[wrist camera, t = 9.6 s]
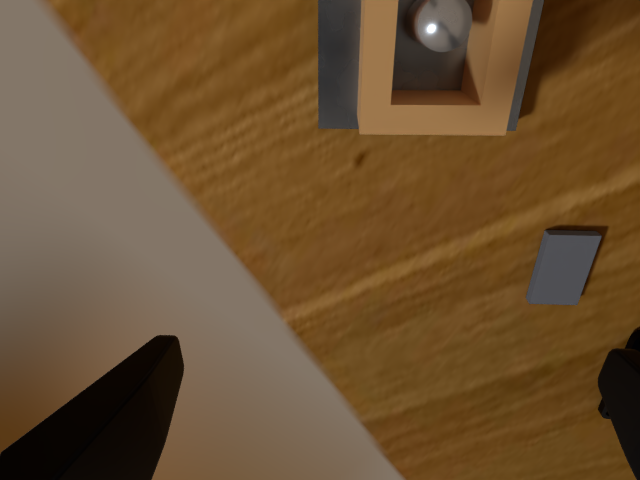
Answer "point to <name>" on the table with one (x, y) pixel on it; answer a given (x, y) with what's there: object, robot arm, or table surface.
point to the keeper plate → (403, 53)
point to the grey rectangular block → (562, 266)
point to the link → (443, 105)
